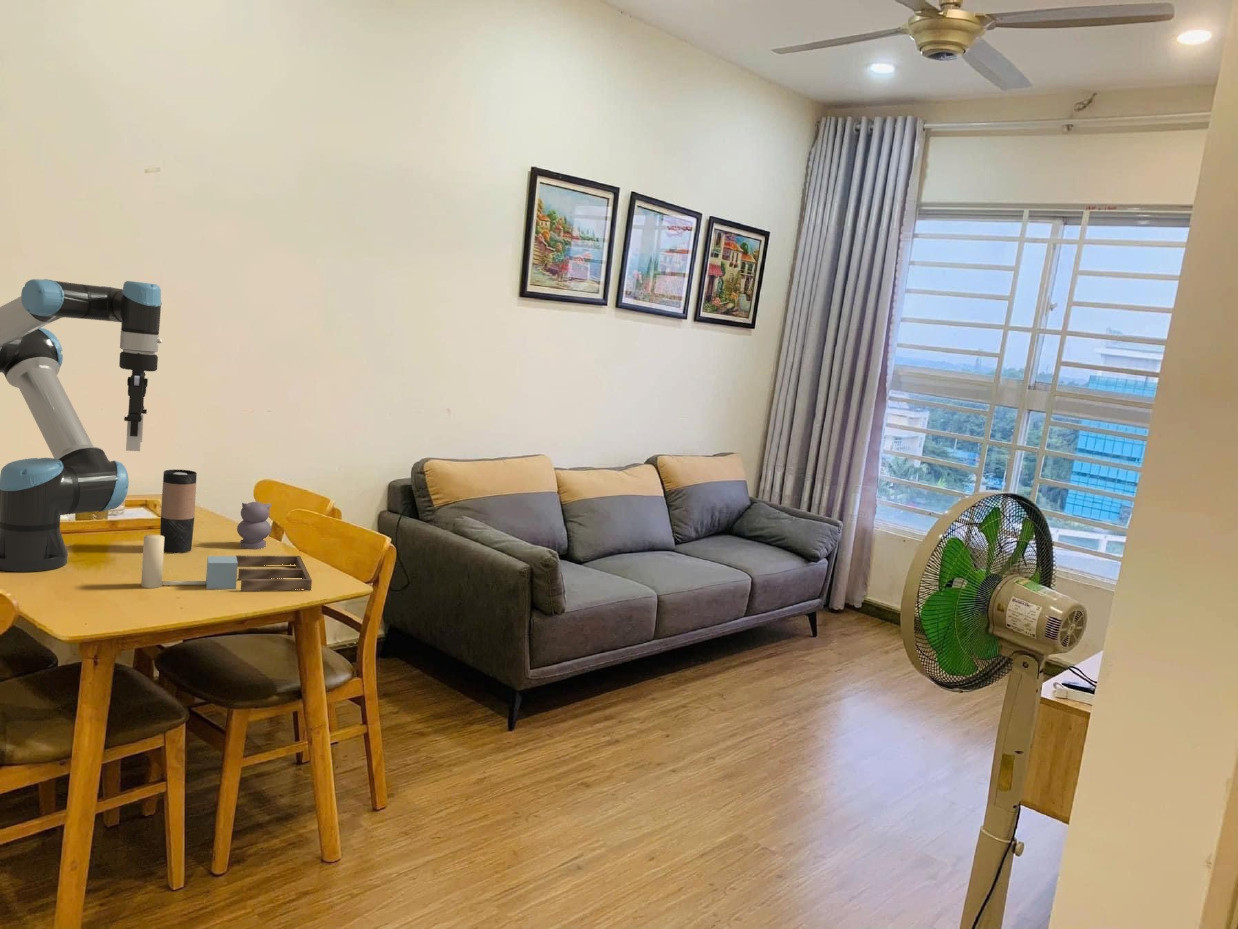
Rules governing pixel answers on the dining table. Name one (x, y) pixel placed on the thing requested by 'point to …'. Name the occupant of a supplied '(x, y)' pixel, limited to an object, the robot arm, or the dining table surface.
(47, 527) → the robot arm
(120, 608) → the dining table surface
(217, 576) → the tethered block
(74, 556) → the dining table surface
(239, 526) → the cat figurine
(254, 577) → the lane rack
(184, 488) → the travel mug
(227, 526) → the dining table surface
